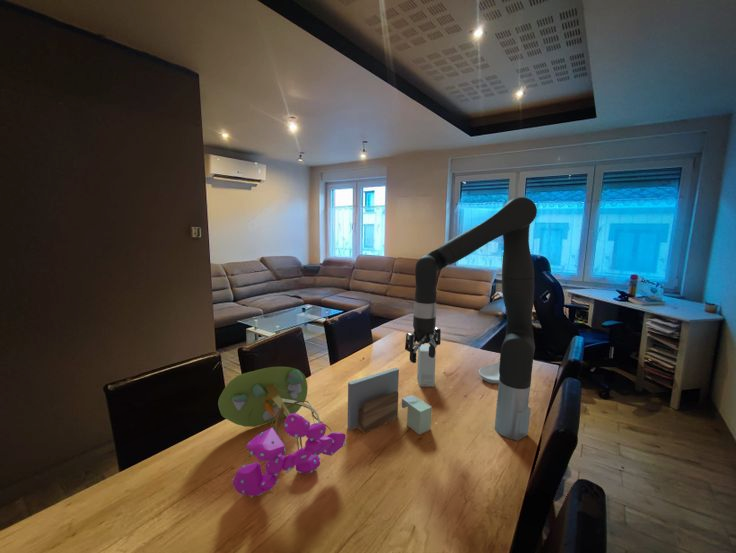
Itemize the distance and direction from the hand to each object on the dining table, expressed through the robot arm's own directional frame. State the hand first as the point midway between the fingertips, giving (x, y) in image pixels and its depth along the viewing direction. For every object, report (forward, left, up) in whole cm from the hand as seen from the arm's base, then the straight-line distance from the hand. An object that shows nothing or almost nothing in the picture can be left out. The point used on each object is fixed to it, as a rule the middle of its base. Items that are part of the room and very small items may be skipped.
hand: (422, 359), depth 111 cm
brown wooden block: (+4, +16, -20) cm, 26 cm away
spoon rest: (+1, -51, -21) cm, 55 cm away
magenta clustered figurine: (+6, +49, -21) cm, 53 cm away
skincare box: (+16, -18, -21) cm, 32 cm away
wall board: (+6, +16, -20) cm, 27 cm away
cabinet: (-4, +6, -20) cm, 22 cm away
